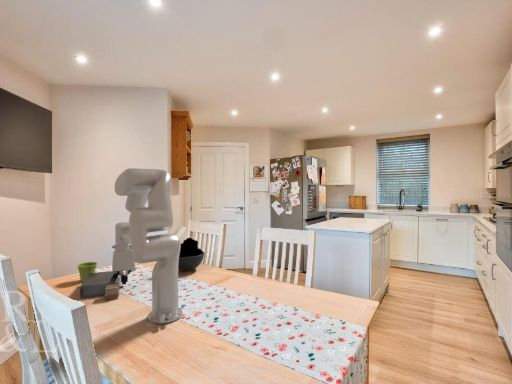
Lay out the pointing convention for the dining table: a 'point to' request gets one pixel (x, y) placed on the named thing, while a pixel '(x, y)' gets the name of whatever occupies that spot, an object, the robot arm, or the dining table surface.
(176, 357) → the dining table surface
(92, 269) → the plant pot
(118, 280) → the tray
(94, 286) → the player
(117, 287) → the block
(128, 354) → the dining table surface
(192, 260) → the bowl of black rocks
